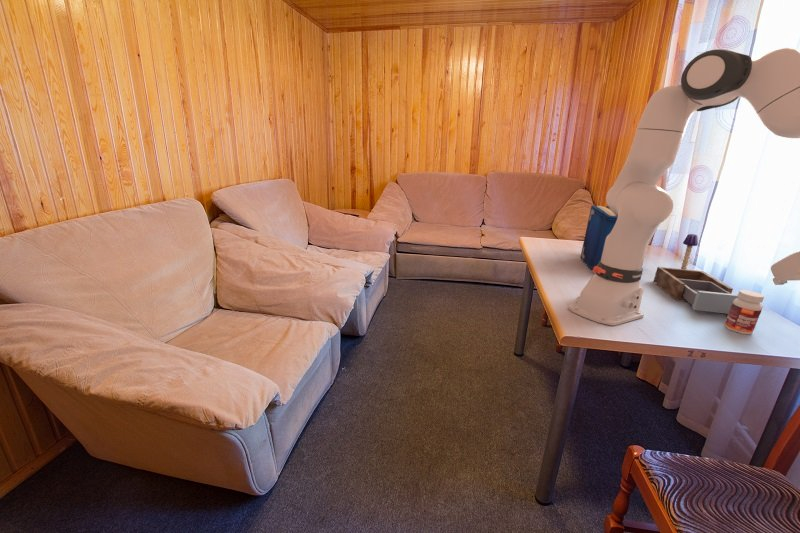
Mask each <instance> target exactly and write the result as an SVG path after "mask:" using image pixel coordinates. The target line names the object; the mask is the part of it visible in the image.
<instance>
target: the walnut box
mask: <svg viewBox="0 0 800 533" xmlns="http://www.w3.org/2000/svg"><path fill="white" fill-rule="evenodd" d="M677 278H678V279H677ZM679 279H688V280H698V281H709V282H713V283H715V284H716V285H718V286H719V287H721V288H723V289H724V290H726V291H728V292H729V293H731V294H733V291H734V289H733V288H732V286H731V287H730V286H729V285H727V284H726V283H724V282H722V281H720V280H718V279H717V278H716V277H713V276H712V275H710V274H709V273H707V272H705V271H703V270H698V269H696V270H694V269H681V268H676V267H675V268H674V267H661V266H657V268H656V271H655V275H654V279H653V283H655V284H656V285H657V286H658V287H659V288H660V289H662V290H663V291H664V292H666V293H667V294H668V295H670V297H671V298H673V299H675V300H676V301H683V302H688V301H687V300H686V299H684V298H683V297H682V293H683V290H684V287H685V283H683V282H682V281H680V280H679Z"/></svg>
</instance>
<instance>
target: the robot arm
mask: <svg viewBox="0 0 800 533" xmlns="http://www.w3.org/2000/svg"><path fill="white" fill-rule="evenodd" d="M682 71H683V72H682V74H681V77H680V84H679V85H669V86H665V87H661V88H660V89H658V90H656V91H655V92H653V93H652V95H651V97H650V98H649V100H648V102H647V103H646V106H645V108H644V110H643V113H642V114H641V117H640V119H639V122H638V123H637V124H638V125H637V127H636V130H635V134H634V137H633V140H632V143H631V146H630V150H629V152H628V155H627V158H626V160H625V163H624V165H622V168H621V170H620V172H619V173H618V176H617V178H616V179H615V181H614V184H613V185H612V186H611V187H610V188H609V190H608V191H607V193H606V196H605V201H606V204H607V206H608V207H609V208H610V210H611V211H612V212H613V213H615V214H616V215H618V218H617V221H616V223H615V225H614V227H613V229H612V231H611V233H610V234H609V235H608V236H607V237H606V240H605V244H604V249H603V253H602V257H601V260H600V261H599V263H598V265H597V266H595V267H594V268H593V271H592V272H593V273H595V274H593V276H592V277H590V279H589V280H588V282H587V283H586V285H585V286H584V288H583V289H582V290H581V291H580V294H579V296H578V297H577V298H576V299H575V300H574V301H573V302H571V303H570V304H569V306H568V310H570V311H571V312H572V313H574V314H576V315H578V316H581V317H582V318H585V319H587V320H590V321H593V322H597V323H599V324H604V325H608V326H618V325H621V324H624V323H628V322H631V321H634V320H638V319H642V318H644V312H642V311H641V303H642V299H643V298H642V297H643V293H644V289H643V287H642V285H641V283H640V281H641V279H642V276H643V269H644V268H643V265H644V260H645V257H646V254H647V250H648V247H649V244H650V242H651V240H652V238H653V236H654V234H655V232H656V231H657V229H658V228H659V226H660V225H661V224H662V223H663V222H664V221H666V220H667V219H668V218H669V217H670V215H671V213H672V212H673V209H674V202H673V201H674V200H673V198H672V196H671V195H670V193H668V192H667V191H665V189H663V188H661V187H660V186H658V184H659V182H660V180H661V179H662V177H663V176H664V174H665V173H666V172H667V170H668V169H669V168H671V166H673V164H674V163H675V160H676V157H677V155H678V151H679V149H680V146H681V144H682V142H683V138H684V136H685V132H686V130H687V127H688V123H689V122H690V119H691V117H692V116H693V114H694V113H695V112H696V111H697V112H703V111H706V110H707V111H708V110H711V109H716V108H717V109H718V108H721V107H724V106H727V105H730V104H732V103H734V102H735V101H737V100H738V99H740V98H743V99H745V100H747V102H748V103H749V104H750V105H751V107H752V108H753V110H754V112H755V113H756V115H757V116H758V118H759V119H760V121H761V123H763V125H764V126H765V127H766V128H767V129H768V130H769V131H770V132H771V133H773V134H774V135H775V136H778V137H781V138H787V139H800V51H798V49H796V48H793V47H782V48H778V49H774V50H772V51H770V52H768V53H766V54H763V55H762V56H760V57H758V58H756V59H754V60H752V56H750V55H748V54H744V53H740V52H736V51H733V50H728V49H720V48H719V49H718V48H717V49H711V50H706V51H704V52H702V53H700V54H698V55H696V56H695V57H694V58H692V60H690V61H689V63H687V65H686V67H685V68H684V70H682ZM770 271H771V273H772V276H773V277H774V278H772V281H773V284H774V286H779V285H780V286H782V285H785V284H788V281H800V251H796V252H793V253H792V254H789V255H788V256H786V257H784V258H781V259H779V260H778V261H776V262H775V263H773V264H772V265H771V266H770Z"/></svg>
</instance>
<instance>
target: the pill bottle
mask: <svg viewBox="0 0 800 533" xmlns="http://www.w3.org/2000/svg"><path fill="white" fill-rule="evenodd" d="M737 295H738V298H737V299H735V300H734V301H733V303H732V305H731V308H730V311H729V313H727V316H726V319H725V323H724V326H725V328H726V329H728V330H730V331H731V330H732V331H731V332H734V333H737V332H738V334H743V335H751V334H753V332H754V330H755V328H756V325H757V322H758V321H759V319H760V316H761V314H762V311H763V305H762V304H761V303H763V301H764V298H765V295H764V294H762V293H760V292H758V291H753V290H747V289H740V290H739V292H738V294H737Z"/></svg>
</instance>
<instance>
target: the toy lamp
mask: <svg viewBox="0 0 800 533" xmlns="http://www.w3.org/2000/svg"><path fill="white" fill-rule="evenodd" d="M682 243H683V245H685V246H686V248H685V253H684V256H683V260H682V263H681V267H680V269H686V270H688V269H687V268H688V263H689V260H690V258H691V257H690V256H691V252H692V249H693V247H697V246H698V244H699V240H698V235H697V234H694V233H688V234H687V236H685V239H684V240H683V242H682Z"/></svg>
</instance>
